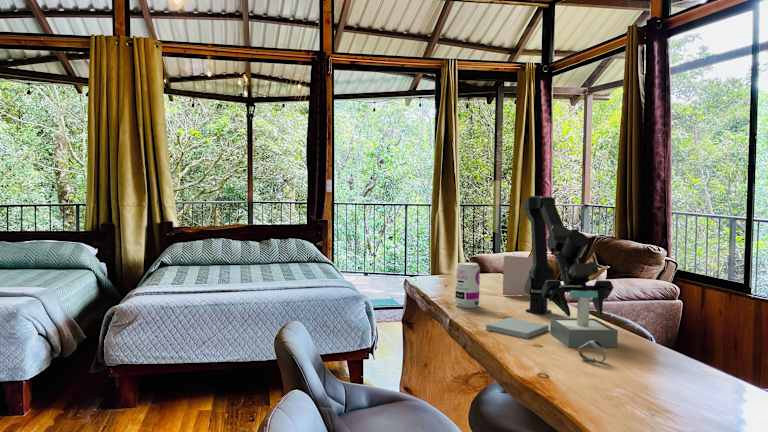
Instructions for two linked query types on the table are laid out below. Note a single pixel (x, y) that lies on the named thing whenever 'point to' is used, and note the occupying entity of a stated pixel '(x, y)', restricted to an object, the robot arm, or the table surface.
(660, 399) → the table surface
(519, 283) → the greeting card
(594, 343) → the wristwatch
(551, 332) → the housing
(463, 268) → the supplement can
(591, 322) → the cover
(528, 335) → the pad
